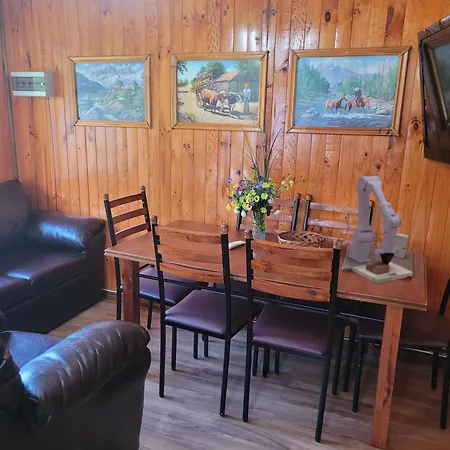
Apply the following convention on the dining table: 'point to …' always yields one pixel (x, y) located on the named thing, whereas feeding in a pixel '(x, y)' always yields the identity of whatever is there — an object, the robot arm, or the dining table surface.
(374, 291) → the dining table surface
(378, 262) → the walnut block
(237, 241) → the dining table surface
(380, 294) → the dining table surface
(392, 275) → the board
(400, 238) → the skincare box
